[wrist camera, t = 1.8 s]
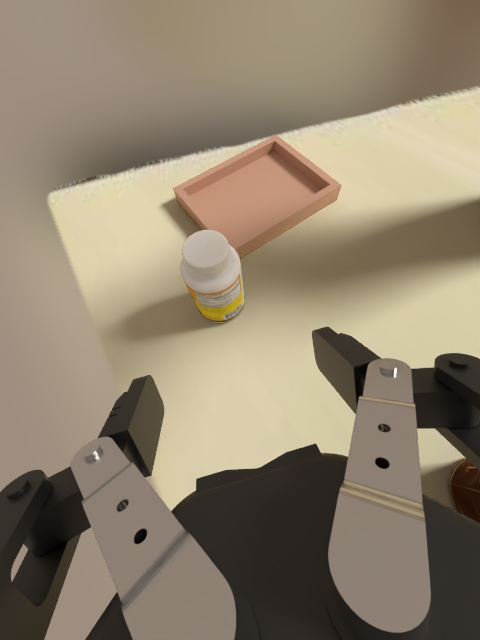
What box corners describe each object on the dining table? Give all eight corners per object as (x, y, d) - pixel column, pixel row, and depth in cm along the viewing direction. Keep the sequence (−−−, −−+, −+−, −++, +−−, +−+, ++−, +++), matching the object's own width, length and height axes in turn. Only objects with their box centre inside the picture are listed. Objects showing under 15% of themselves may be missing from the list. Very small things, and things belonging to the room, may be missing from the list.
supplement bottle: (205, 280, 32) (184, 217, 23) (249, 287, 31) (245, 225, 22) (192, 320, 30) (162, 269, 21) (238, 329, 29) (229, 280, 20)
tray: (274, 149, 41) (275, 134, 39) (336, 199, 36) (341, 185, 34) (177, 201, 38) (173, 188, 36) (230, 264, 33) (228, 253, 31)
